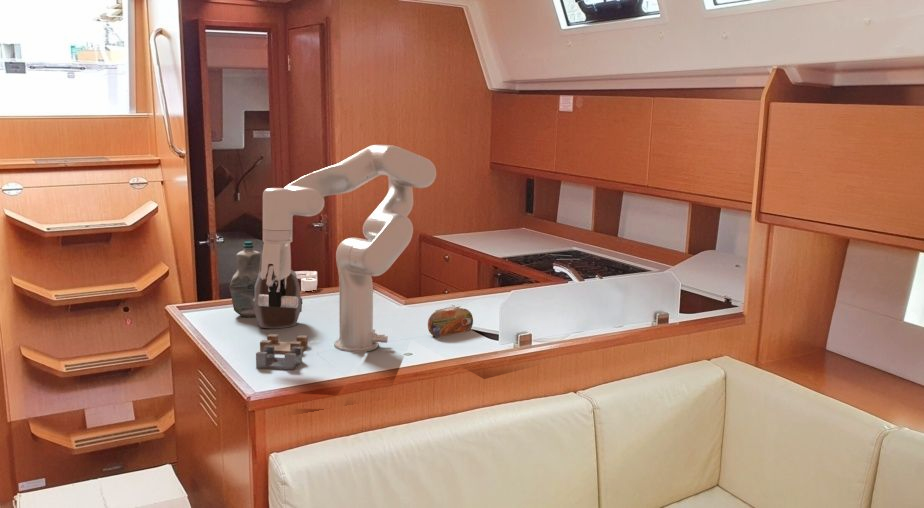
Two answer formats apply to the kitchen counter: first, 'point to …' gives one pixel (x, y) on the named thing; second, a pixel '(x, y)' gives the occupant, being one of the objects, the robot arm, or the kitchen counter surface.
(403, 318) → the kitchen counter surface
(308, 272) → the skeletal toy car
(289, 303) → the steel axle
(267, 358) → the V-block
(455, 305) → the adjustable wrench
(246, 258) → the detergent
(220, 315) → the kitchen counter surface
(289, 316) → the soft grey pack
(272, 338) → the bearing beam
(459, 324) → the tin
